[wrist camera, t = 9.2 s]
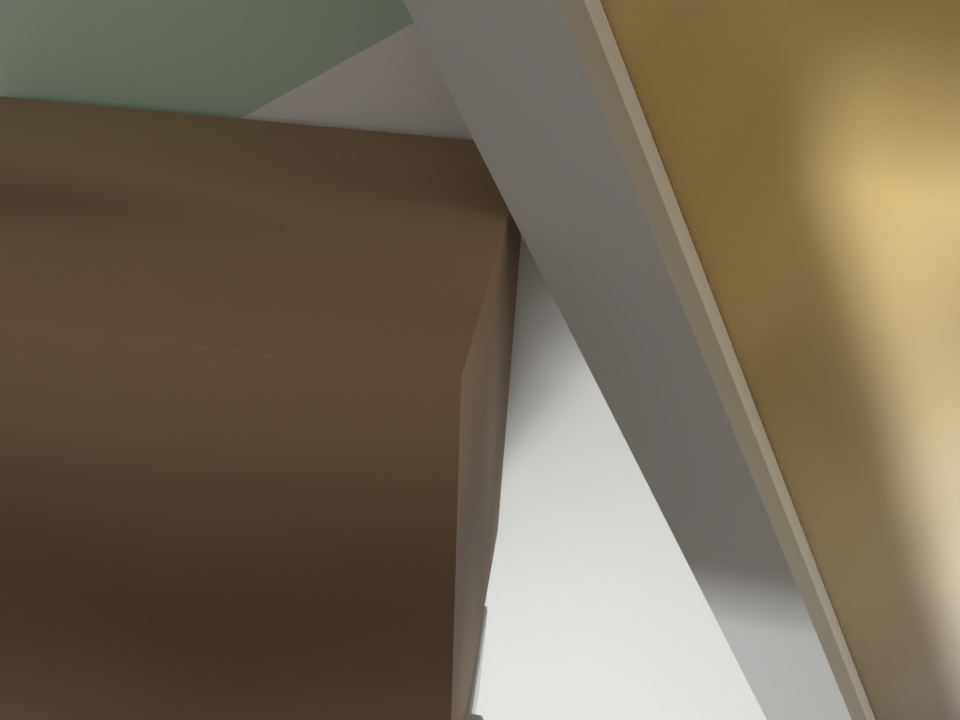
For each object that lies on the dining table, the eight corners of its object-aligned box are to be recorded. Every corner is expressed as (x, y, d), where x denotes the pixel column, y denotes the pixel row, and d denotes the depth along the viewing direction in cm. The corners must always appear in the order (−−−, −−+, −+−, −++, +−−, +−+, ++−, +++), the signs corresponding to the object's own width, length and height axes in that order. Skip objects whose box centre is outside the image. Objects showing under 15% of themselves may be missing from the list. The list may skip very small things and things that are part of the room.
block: (497, 530, 11) (447, 813, 8) (126, 476, 12) (-57, 719, 9) (528, 145, 8) (461, 378, 4) (-6, 95, 8) (-402, 268, 5)
